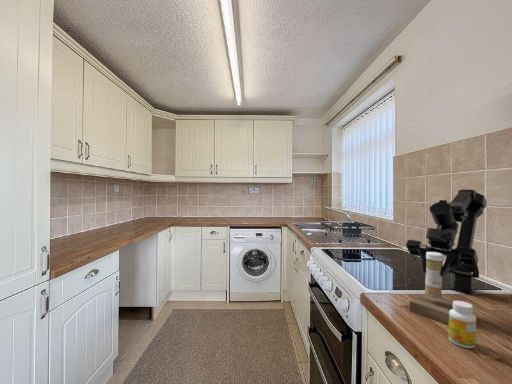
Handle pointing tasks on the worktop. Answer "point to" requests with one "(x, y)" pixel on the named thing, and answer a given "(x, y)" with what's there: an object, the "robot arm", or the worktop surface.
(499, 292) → the worktop surface
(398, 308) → the worktop surface
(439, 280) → the sprinkles bottle
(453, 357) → the worktop surface
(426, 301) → the walnut block
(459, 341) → the supplement bottle
